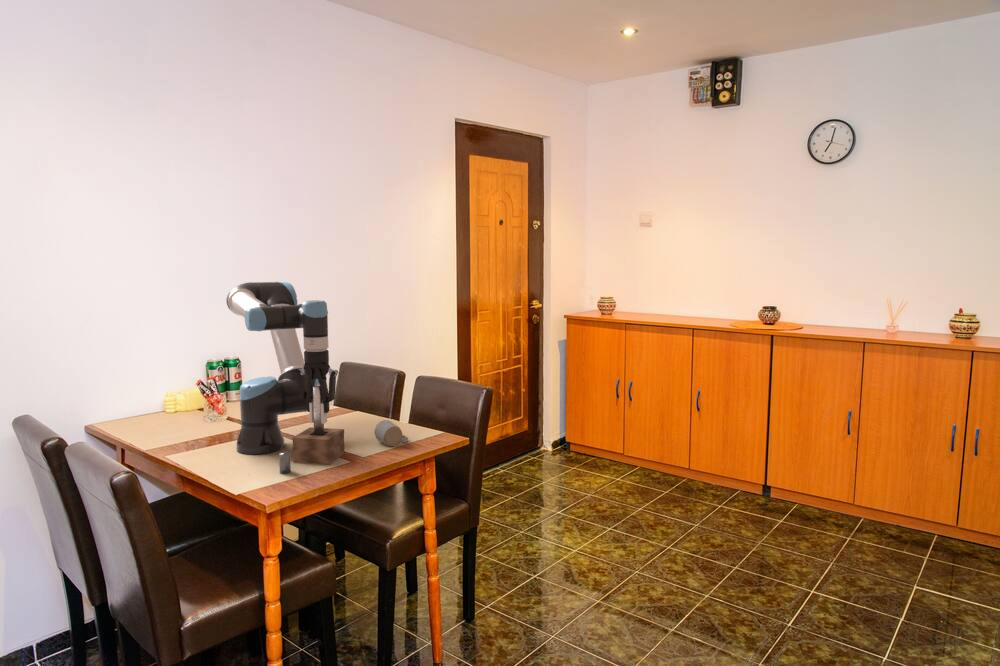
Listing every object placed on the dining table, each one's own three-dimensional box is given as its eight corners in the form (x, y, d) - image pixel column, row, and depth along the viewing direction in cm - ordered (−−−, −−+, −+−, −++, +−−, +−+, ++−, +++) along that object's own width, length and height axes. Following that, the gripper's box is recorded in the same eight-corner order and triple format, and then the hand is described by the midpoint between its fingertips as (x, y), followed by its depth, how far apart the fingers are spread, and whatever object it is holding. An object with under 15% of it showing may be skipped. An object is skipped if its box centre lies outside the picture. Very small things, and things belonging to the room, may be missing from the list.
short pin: (277, 473, 200) (277, 454, 199) (283, 470, 203) (282, 451, 203) (287, 474, 200) (287, 455, 199) (292, 470, 203) (292, 451, 202)
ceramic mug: (384, 448, 225) (384, 426, 224) (374, 442, 232) (374, 421, 231) (412, 444, 231) (412, 422, 230) (401, 438, 238) (401, 417, 237)
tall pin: (312, 435, 213) (310, 386, 211) (316, 433, 216) (314, 384, 214) (321, 436, 213) (319, 386, 210) (325, 433, 216) (324, 384, 214)
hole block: (293, 462, 211) (292, 437, 210) (310, 450, 222) (309, 427, 221) (329, 464, 209) (328, 439, 208) (344, 452, 220) (344, 429, 219)
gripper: (286, 350, 209) (289, 424, 212) (335, 352, 206) (337, 426, 209) (297, 347, 216) (300, 418, 219) (345, 348, 213) (347, 420, 216)
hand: (318, 422), depth 214 cm, fingers closed on tall pin, 3 cm apart
